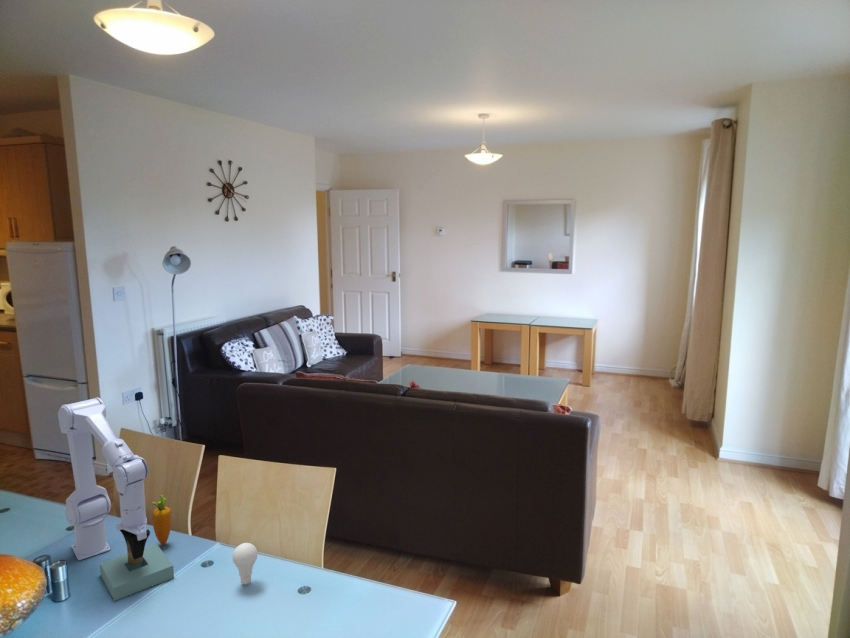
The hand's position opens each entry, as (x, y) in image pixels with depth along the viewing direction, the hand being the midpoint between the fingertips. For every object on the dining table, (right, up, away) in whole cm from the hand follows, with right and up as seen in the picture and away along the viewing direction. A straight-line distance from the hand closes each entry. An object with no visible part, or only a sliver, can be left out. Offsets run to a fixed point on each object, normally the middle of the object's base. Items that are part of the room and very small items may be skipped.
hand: (135, 554), depth 141 cm
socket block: (0, -6, +1) cm, 6 cm away
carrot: (0, -4, +16) cm, 16 cm away
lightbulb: (+30, -7, -1) cm, 30 cm away
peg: (0, -2, 0) cm, 2 cm away
